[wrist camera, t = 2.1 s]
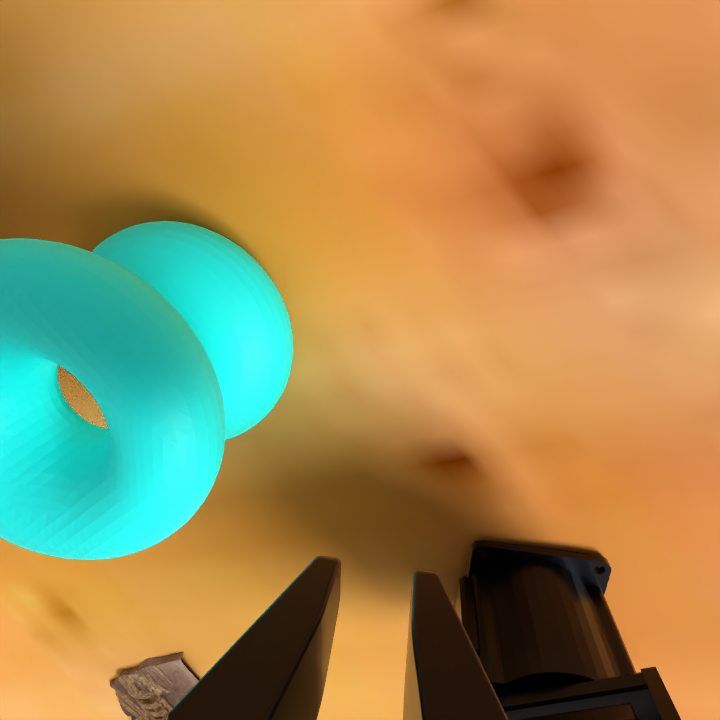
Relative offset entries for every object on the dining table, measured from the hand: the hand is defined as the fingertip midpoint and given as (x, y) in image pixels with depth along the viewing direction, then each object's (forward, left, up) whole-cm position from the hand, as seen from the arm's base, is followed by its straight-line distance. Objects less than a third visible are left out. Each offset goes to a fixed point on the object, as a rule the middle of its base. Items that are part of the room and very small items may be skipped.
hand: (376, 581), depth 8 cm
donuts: (+10, 0, -13) cm, 17 cm away
